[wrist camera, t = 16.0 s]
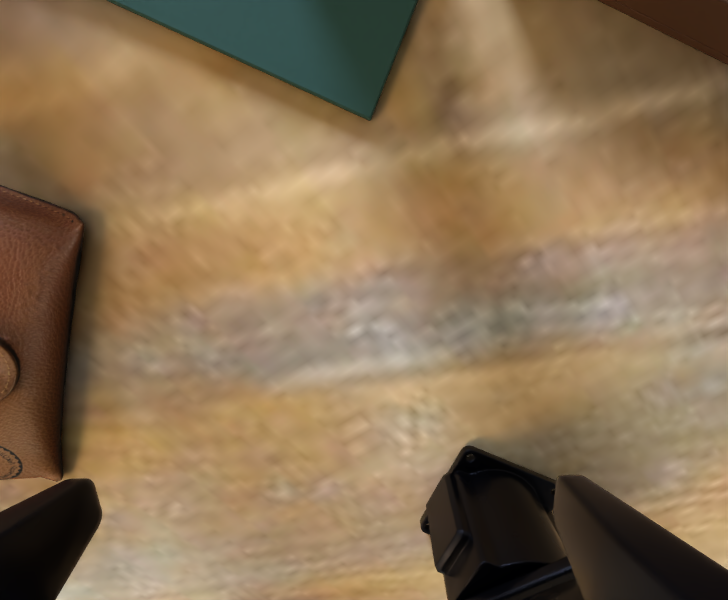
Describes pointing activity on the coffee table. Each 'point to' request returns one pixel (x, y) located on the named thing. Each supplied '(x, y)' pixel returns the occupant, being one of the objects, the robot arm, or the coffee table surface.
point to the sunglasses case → (35, 330)
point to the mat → (298, 40)
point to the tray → (684, 21)
